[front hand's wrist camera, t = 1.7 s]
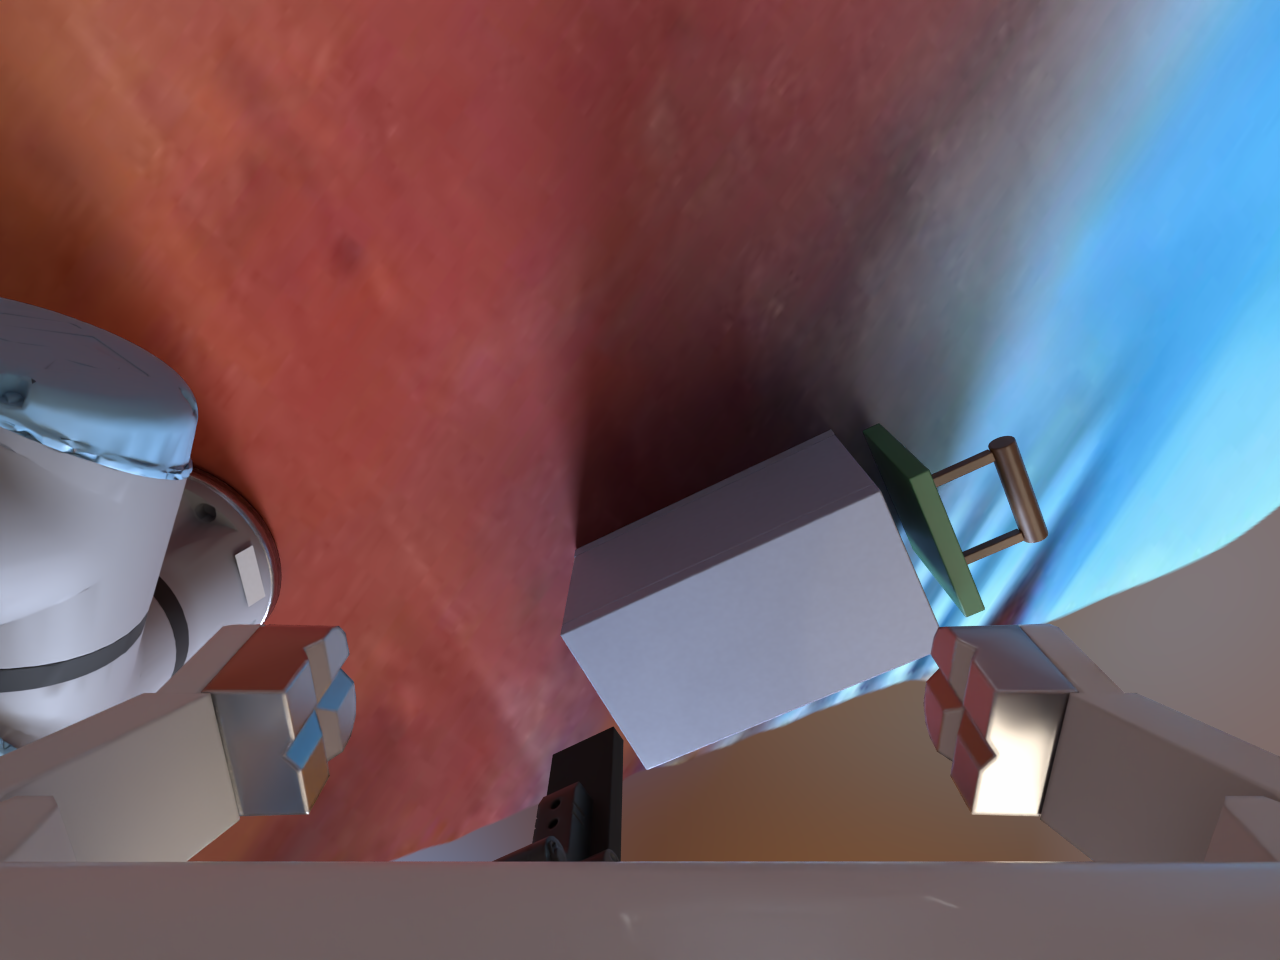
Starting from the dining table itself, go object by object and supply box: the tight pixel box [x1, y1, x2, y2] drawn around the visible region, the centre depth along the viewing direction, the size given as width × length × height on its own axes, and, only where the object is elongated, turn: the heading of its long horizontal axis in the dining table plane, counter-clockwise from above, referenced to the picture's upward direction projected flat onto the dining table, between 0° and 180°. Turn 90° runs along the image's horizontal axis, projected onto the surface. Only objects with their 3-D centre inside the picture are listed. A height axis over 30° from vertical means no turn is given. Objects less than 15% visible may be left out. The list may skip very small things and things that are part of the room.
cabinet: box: [561, 430, 939, 770], centre depth 48 cm, size 20×11×11 cm, turn 117°
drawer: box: [863, 424, 1048, 617], centre depth 47 cm, size 24×10×9 cm, turn 117°
